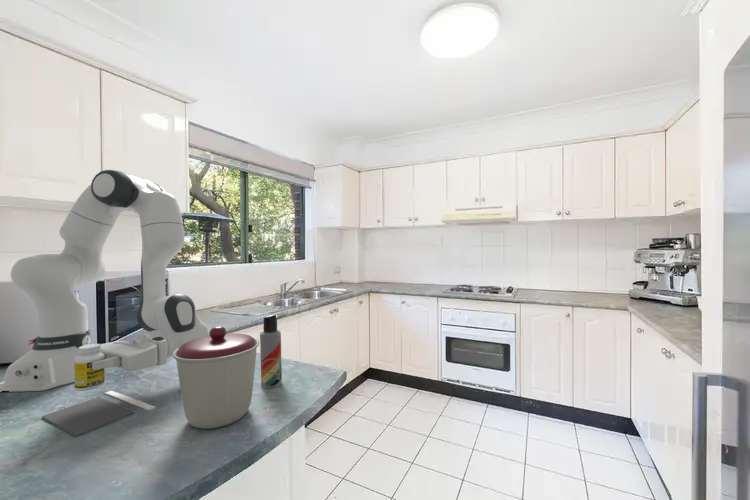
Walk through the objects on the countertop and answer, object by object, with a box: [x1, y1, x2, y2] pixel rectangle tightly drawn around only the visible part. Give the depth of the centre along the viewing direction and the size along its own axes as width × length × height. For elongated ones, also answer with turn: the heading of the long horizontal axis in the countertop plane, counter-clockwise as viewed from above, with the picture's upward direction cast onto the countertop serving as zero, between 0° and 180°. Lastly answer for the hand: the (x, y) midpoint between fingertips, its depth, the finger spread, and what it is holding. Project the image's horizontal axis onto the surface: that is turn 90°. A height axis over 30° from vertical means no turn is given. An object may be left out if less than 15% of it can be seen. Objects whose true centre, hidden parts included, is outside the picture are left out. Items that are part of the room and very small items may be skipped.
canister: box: [171, 325, 260, 430], centre depth 75 cm, size 18×18×21 cm
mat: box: [41, 396, 136, 438], centre depth 77 cm, size 18×11×1 cm, turn 62°
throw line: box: [104, 390, 156, 412], centre depth 84 cm, size 22×2×1 cm, turn 62°
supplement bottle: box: [74, 343, 105, 392], centre depth 77 cm, size 5×5×10 cm
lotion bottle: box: [259, 314, 283, 389], centre depth 93 cm, size 6×6×20 cm
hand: (84, 364), depth 77 cm, fingers closed on supplement bottle, 5 cm apart
